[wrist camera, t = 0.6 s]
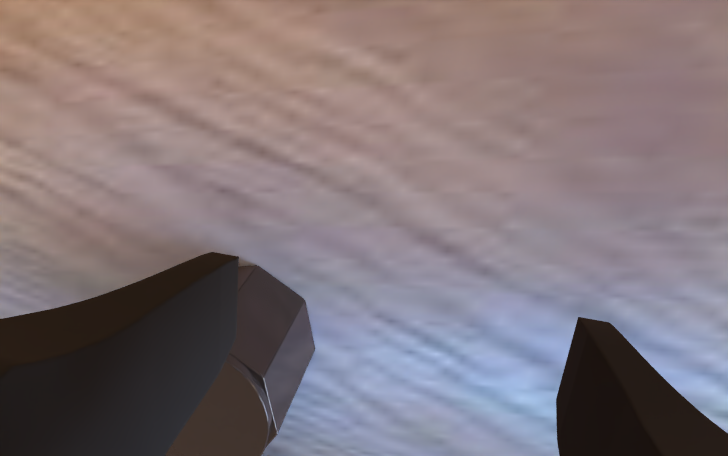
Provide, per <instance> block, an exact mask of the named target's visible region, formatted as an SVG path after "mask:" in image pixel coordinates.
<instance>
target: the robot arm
mask: <svg viewBox="0 0 728 456" xmlns="http://www.w3.org/2000/svg"><path fill="white" fill-rule="evenodd" d="M238 263H239V257H237V256H231V255H225V254H220V253H214V252H211V253H207V254H204V255H201V256H199V257H196V258H194V259H191V260H189V261H186V262H184V263H181V264H179V265H177V266H174V267H172V268H170V269H167V270H165V271H163V272H160V273H158V274H156V275H153V276H151V277H148V278H146V279H144V280H141V281H138V282H136V283H133V284H130V285H128V286H125V287H122V288H120V289H117V290H114V291H112V292H109V293H106V294H103V295H100V296H97V297H94V298H91V299H88V300H84V301H81V302H77V303H73V304H70V305H66V306H62V307H58V308H54V309H50V310H45V311H40V312H35V313H30V314H24V315H19V316H14V317H9V318H3V319H0V456H165V454H166V453H167V451H168V450H169V448H170V447H171V445H172V444H173V442H174V441H175V439H176V438H177V436H178V435H179V433H180V432H181V430H182V429H183V427H184V426H185V424H186V423H187V421H188V420H189V418H190V417H191V415H192V414H193V412H194V411H195V410H196V408H197V407H198V405H199V404H200V402H201V401H202V399H203V398H204V396H205V395H206V393H207V392H208V390H209V389H210V387H211V386H212V384H213V382H214V381H215V379H216V378H217V376H218V375H219V373H220V371H221V369H222V367H223V365H224V363H225V361H226V359H227V357H228V354H229V352H230V350H231V348H232V346H233V343H234V341H235V339H236V331H237V297H238ZM556 407H557V441H558V448H559V454H560V456H728V433H726V432H725V431H724V430H722V429H721V428H720V427H718V426H717V425H716V424H714V423H713V422H712V421H711V420H709V419H708V418H707V417H706V416H704V415H703V414H702V413H701V412H700V411H699V410H697V409H696V408H695V407H694V406H693V405H692V404H691V403H690V402H688V401H687V400H686V399H685V398H684V397H683V396H682V395H681V394H680V393H678V392H677V391H676V390H675V389H674V388H673V387H672V386H671V385H670V384H669V383H668V382H667V381H666V380H665V379H664V378H663V377H662V376H661V375H660V374H659V373H658V372H657V371H656V370H655V369H654V368H653V367H652V366H651V365H650V364H649V363H648V362H647V361H646V360H645V359H644V358H643V357H642V356H641V355H640V354H639V352H638V351H637V350H636V349H635V348H634V347H633V346H632V345H631V344H630V343H629V342H628V341H627V340H626V339H625V338H624V337H623V335H622V334H621V333H620V332H619V331H618V330H617V329H616V328H615V327H614V326H613V325H611V324H610V323H609V322H603V321H597V320H592V319H586V318H581V317H578V321H577V324H576V328H575V332H574V335H573V339H572V343H571V347H570V350H569V354H568V358H567V361H566V365H565V369H564V373H563V376H562V380H561V384H560V387H559V391H558V395H557V399H556Z"/></svg>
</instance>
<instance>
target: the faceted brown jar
mask: <svg viewBox="0 0 728 456" xmlns="http://www.w3.org/2000/svg"><path fill="white" fill-rule="evenodd" d="M314 351H315V345H314V341H313V336H312V331H311V327H310V322H309V317H308V313H307V308H306V303H305V300H304V299H303V298H302V297H301V296H299V295H298V294H296V293H295V292H294V291H292V290H291V289H289V288H288V287H287V286H285V285H284V284H283V283H281V282H280V281H278V280H277V279H276V278H274V277H273V276H272V275H270V274H269V273H267V272H266V271H265V270H263V269H262V268H261V267H259V266H257V265H254V266H240V267H238V297H237V331H236V339H235V341H234V343H233V346H232V348H231V350H230V352H229V354H228V357H227V359H226V361H225V363H224V365H223V367H222V369H221V371H220V373H219V375H218V376H217V378H216V379H215V381H214V382H213V384H212V386H211V387H210V389H209V390H208V392H207V393H206V395H205V396H204V398H203V399H202V401H201V402H200V404H199V405H198V407H197V408H196V410H195V411H194V412H193V414H192V415H191V417H190V418H189V420H188V421H187V423H186V424H185V426H184V427H183V429H182V430H181V432H180V433H179V435H178V436H177V438H176V439H175V441H174V442H173V444H172V445H171V447H170V448H169V450H168V451H167V453H166V454H165V456H261V455H262V453H263V451H264V449H265V448H266V446H267V445H268V444H269V443H270V442H271V441H272V440H273V439H274V438H275V436H276V435H277V434H278V432H279V429H280V427H281V425H282V423H283V420H284V418H285V416H286V414H287V411H288V409H289V407H290V405H291V402H292V400H293V398H294V396H295V393H296V391H297V389H298V387H299V384H300V382H301V380H302V378H303V375H304V373H305V371H306V369H307V366H308V364H309V362H310V360H311V357H312V355H313V353H314Z"/></svg>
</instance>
